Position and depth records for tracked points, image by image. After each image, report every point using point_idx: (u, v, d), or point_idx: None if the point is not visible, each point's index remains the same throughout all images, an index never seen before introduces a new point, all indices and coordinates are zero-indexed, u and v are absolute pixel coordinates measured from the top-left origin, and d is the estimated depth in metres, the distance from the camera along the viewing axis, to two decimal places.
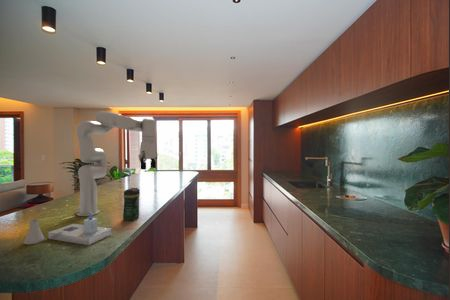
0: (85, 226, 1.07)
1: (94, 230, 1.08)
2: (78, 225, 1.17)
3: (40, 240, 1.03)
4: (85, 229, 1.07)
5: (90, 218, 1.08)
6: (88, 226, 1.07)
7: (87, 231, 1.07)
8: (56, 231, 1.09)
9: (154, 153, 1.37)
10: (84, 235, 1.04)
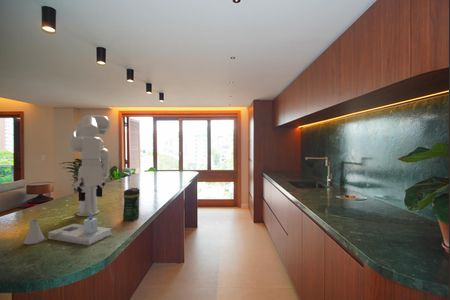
0: (85, 226, 1.07)
1: (94, 230, 1.08)
2: (78, 225, 1.17)
3: (40, 240, 1.03)
4: (85, 229, 1.07)
5: (90, 218, 1.08)
6: (88, 226, 1.07)
7: (87, 231, 1.07)
8: (56, 231, 1.09)
9: (99, 179, 1.10)
10: (84, 235, 1.04)
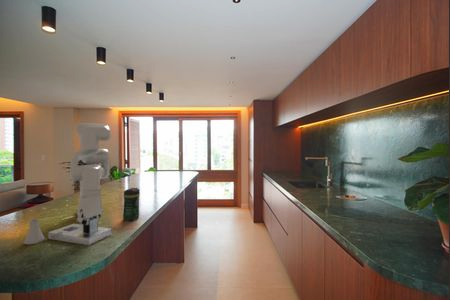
0: None
1: (94, 230, 1.08)
2: (78, 225, 1.17)
3: (40, 240, 1.03)
4: None
5: (90, 218, 1.08)
6: None
7: None
8: (56, 231, 1.09)
9: (99, 208, 1.11)
10: (84, 235, 1.04)
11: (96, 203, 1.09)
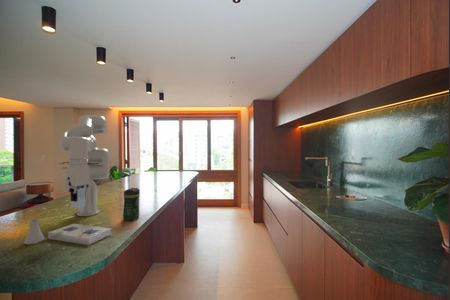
0: None
1: (82, 199, 1.11)
2: (78, 225, 1.17)
3: (40, 240, 1.03)
4: None
5: (78, 187, 1.10)
6: None
7: None
8: (56, 231, 1.09)
9: (86, 178, 1.13)
10: (84, 235, 1.04)
11: (84, 173, 1.11)
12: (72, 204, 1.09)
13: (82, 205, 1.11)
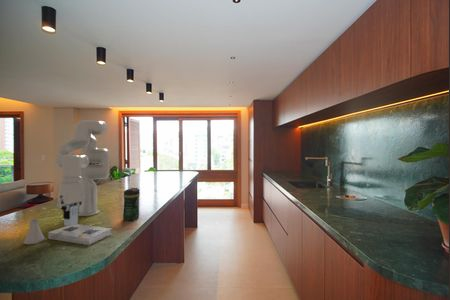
0: None
1: (74, 216, 1.12)
2: (78, 225, 1.17)
3: (40, 240, 1.03)
4: None
5: (70, 204, 1.11)
6: None
7: None
8: (56, 231, 1.09)
9: (79, 196, 1.14)
10: (84, 235, 1.04)
11: (76, 190, 1.12)
12: (65, 222, 1.10)
13: (75, 222, 1.12)
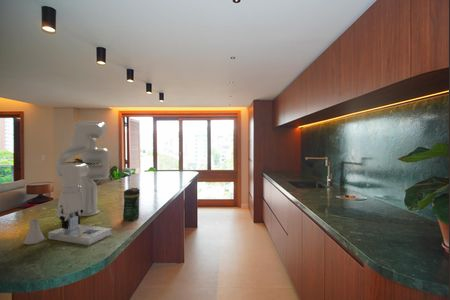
0: None
1: (74, 227, 1.12)
2: (78, 225, 1.17)
3: (40, 240, 1.03)
4: None
5: (71, 216, 1.11)
6: (68, 223, 1.10)
7: None
8: (56, 231, 1.09)
9: (79, 205, 1.14)
10: (84, 235, 1.04)
11: (76, 199, 1.12)
12: None
13: None
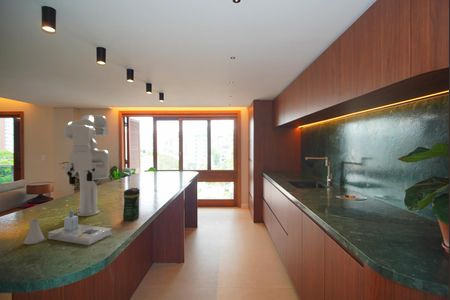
0: (65, 223, 1.10)
1: (74, 227, 1.12)
2: (78, 225, 1.17)
3: (40, 240, 1.03)
4: (65, 226, 1.10)
5: (70, 216, 1.11)
6: (68, 223, 1.10)
7: (67, 228, 1.10)
8: (56, 231, 1.09)
9: (89, 165, 1.19)
10: (84, 235, 1.04)
11: (86, 159, 1.17)
12: None
13: None
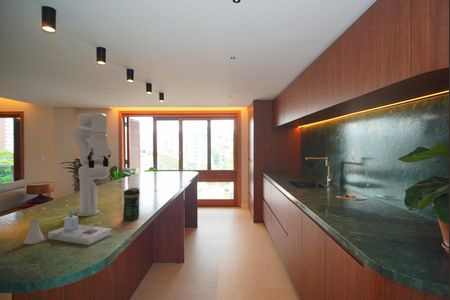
0: (65, 223, 1.10)
1: (74, 227, 1.12)
2: (78, 225, 1.17)
3: (40, 240, 1.03)
4: (65, 226, 1.10)
5: (70, 216, 1.11)
6: (68, 223, 1.10)
7: (67, 228, 1.10)
8: (56, 231, 1.09)
9: (106, 150, 1.28)
10: (84, 235, 1.04)
11: (103, 145, 1.26)
12: None
13: None
